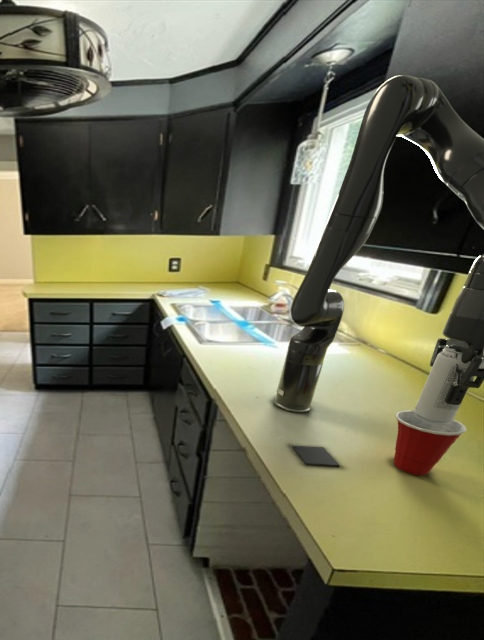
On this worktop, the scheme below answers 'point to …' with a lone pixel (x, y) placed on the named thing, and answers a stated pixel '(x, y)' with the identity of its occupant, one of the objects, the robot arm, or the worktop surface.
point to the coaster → (315, 456)
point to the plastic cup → (422, 442)
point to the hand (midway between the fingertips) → (442, 396)
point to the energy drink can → (439, 389)
